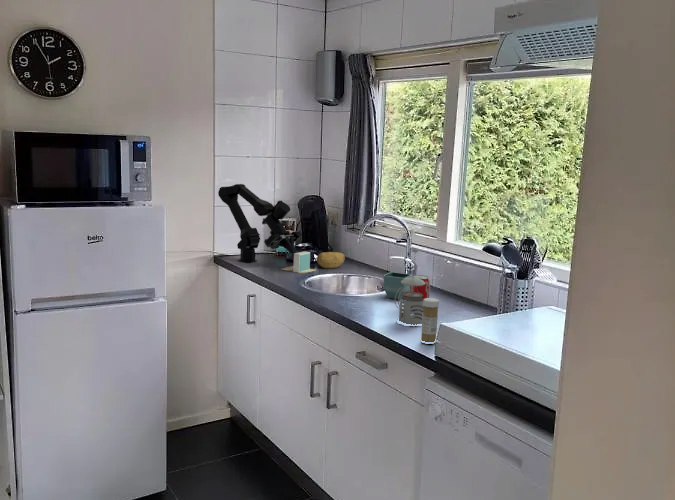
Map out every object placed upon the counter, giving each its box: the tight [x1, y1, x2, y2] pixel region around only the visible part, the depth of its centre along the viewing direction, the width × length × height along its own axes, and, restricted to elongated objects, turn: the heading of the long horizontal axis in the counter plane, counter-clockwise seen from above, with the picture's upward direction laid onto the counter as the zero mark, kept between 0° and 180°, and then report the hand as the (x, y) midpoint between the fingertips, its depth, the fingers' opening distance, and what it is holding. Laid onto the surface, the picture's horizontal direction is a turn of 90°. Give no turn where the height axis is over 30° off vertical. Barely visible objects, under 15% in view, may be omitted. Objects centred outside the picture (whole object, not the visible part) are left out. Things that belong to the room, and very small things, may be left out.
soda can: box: [409, 274, 431, 308], centre depth 223 cm, size 7×7×12 cm
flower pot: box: [382, 271, 413, 300], centre depth 239 cm, size 9×9×9 cm
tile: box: [292, 251, 311, 273], centre depth 276 cm, size 3×8×8 cm, turn 147°
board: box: [281, 265, 316, 274], centre depth 279 cm, size 13×10×1 cm
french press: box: [394, 247, 426, 325], centre depth 204 cm, size 10×12×25 cm
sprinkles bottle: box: [420, 297, 440, 342], centre depth 185 cm, size 5×5×14 cm
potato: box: [316, 251, 346, 270], centre depth 287 cm, size 10×14×8 cm
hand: (293, 253), depth 278 cm, fingers closed
